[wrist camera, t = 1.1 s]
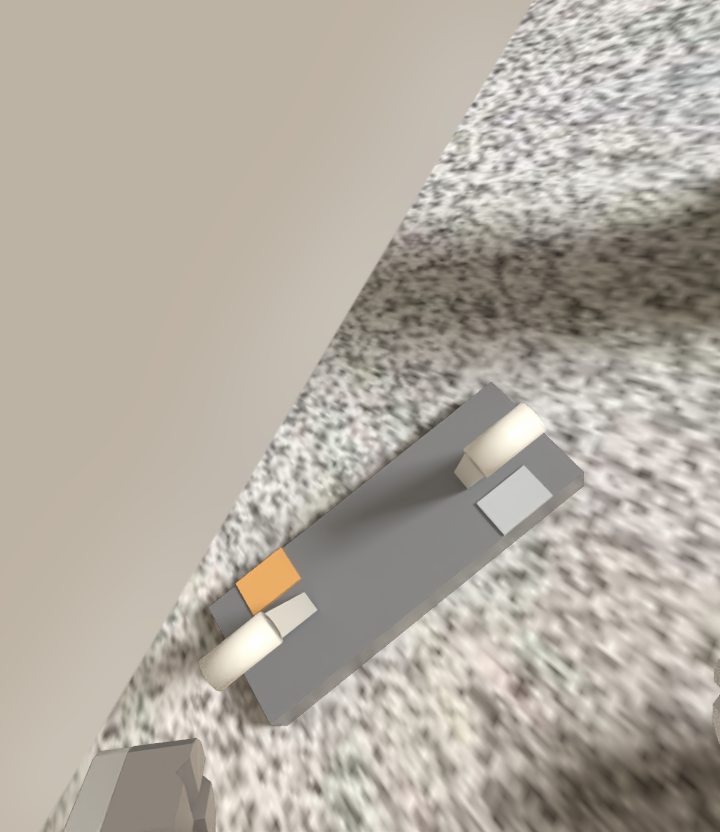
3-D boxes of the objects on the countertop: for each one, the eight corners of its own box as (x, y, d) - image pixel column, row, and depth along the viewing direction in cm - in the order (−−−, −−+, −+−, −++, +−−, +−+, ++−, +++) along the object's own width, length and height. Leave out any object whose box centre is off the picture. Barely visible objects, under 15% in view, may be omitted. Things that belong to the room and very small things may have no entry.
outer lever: (302, 589, 48) (255, 613, 34) (319, 612, 48) (278, 646, 34) (259, 624, 48) (194, 662, 34) (275, 647, 47) (216, 695, 34)
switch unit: (495, 398, 54) (491, 379, 51) (583, 485, 49) (583, 470, 46) (226, 613, 53) (206, 606, 50) (287, 725, 48) (268, 724, 45)
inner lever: (494, 436, 49) (523, 399, 35) (511, 457, 48) (548, 428, 34) (452, 470, 48) (464, 446, 35) (469, 491, 48) (489, 476, 34)
